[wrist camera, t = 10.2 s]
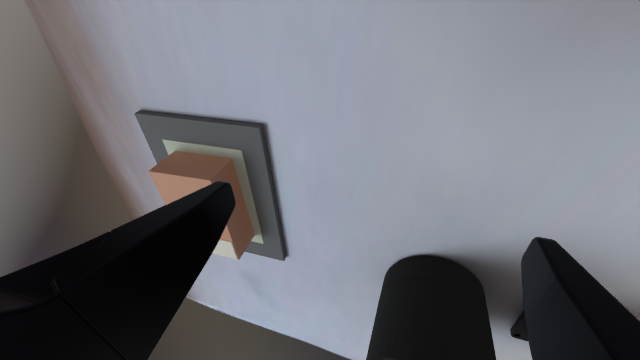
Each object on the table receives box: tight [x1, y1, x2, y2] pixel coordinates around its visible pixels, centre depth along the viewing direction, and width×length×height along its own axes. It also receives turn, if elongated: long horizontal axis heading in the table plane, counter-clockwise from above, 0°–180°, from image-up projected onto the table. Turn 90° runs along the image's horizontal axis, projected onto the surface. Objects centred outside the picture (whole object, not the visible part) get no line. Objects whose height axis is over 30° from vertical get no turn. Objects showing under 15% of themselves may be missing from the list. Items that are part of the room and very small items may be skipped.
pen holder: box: [366, 256, 496, 360], centre depth 25 cm, size 9×9×10 cm
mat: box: [135, 111, 286, 261], centre depth 29 cm, size 16×12×1 cm
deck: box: [149, 151, 255, 260], centre depth 28 cm, size 10×6×3 cm, turn 4°
